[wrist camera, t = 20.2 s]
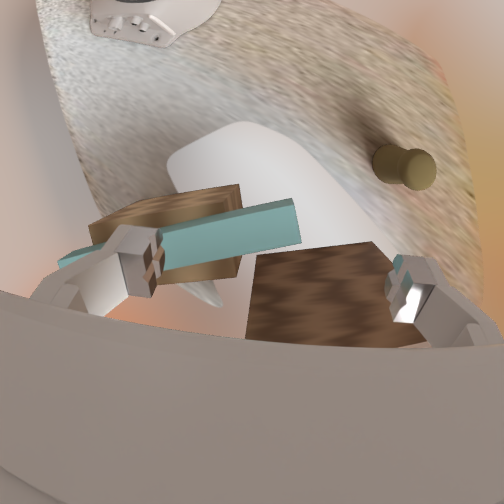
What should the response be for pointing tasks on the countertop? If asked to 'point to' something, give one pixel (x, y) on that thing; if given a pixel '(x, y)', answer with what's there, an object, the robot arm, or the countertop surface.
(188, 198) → the oak block
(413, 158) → the cork
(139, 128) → the countertop surface
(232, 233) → the teal bar
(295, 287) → the walnut stand
